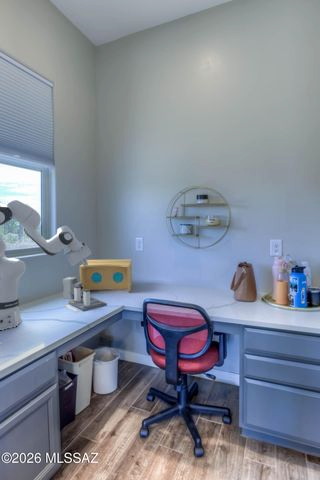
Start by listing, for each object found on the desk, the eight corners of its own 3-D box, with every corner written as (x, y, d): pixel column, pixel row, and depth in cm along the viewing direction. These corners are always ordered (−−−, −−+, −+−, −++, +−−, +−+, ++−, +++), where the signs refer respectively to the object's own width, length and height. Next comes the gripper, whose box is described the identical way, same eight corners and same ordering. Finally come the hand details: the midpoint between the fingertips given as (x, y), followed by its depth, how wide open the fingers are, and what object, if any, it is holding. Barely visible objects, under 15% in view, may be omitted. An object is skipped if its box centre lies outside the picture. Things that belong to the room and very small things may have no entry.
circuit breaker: (80, 299, 207) (79, 279, 206) (63, 298, 210) (62, 279, 209) (84, 296, 214) (84, 277, 213) (68, 295, 217) (67, 277, 216)
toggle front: (86, 306, 184) (85, 290, 183) (83, 305, 187) (82, 289, 186) (90, 305, 186) (90, 289, 185) (87, 304, 189) (87, 288, 188)
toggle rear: (76, 302, 194) (76, 287, 193) (74, 300, 197) (73, 286, 196) (81, 301, 196) (80, 286, 195) (78, 299, 199) (77, 285, 198)
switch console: (76, 312, 177) (76, 308, 177) (62, 305, 193) (62, 301, 193) (106, 305, 192) (106, 301, 192) (91, 298, 208) (91, 295, 208)
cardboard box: (131, 285, 248) (131, 259, 246) (129, 293, 222) (129, 264, 220) (87, 286, 247) (86, 259, 245) (80, 294, 221) (79, 264, 219)
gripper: (68, 251, 169) (80, 269, 171) (86, 241, 188) (97, 258, 189) (61, 255, 172) (74, 273, 173) (80, 245, 190) (91, 262, 192)
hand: (86, 265), depth 181 cm, fingers closed
